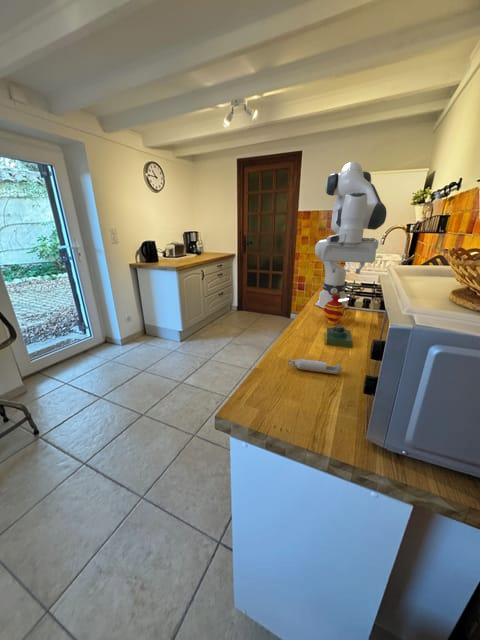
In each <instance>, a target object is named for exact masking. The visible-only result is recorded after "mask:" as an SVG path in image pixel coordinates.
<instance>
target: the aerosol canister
mask: <svg viewBox="0 0 480 640" xmlns="http://www.w3.org/2000/svg"><path fill="white" fill-rule="evenodd" d="M287 366H290V367H295V368H297V369H298V370H301V371H308V372H316V373H324V374H331V375H339V374H341V373H342V366H341V365H340V364H339V363H335V366H333V365H327V361H321V360H312V359H303V358H299V359H296V360H295V359H288V360H287Z"/></svg>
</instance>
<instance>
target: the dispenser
mask: <svg viewBox="0 0 480 640" xmlns="http://www.w3.org/2000/svg"><path fill="white" fill-rule="evenodd" d="M325 329H326V331H325V345H326V346H332V347H333V346H334V347H341V348H352V346H353V337H352V334H351V333H352V332H351V329H347V328H346V327H344V332H338V331H335V326H333V327H326V328H325Z"/></svg>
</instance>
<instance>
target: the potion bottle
mask: <svg viewBox="0 0 480 640" xmlns="http://www.w3.org/2000/svg"><path fill="white" fill-rule="evenodd" d="M340 295H341V294H339V293H332V297H331V298H333V301H330V302H328V303H327V304H326V305H325V306H324V308H323V310H322V311H323V314H324V316H325V318H326V319H327V321H326V322H327V323H328V324H331V325H338V323H339V320H341V319H342V318H343V317H344V314H345V308H344V306H343V303H341V302H340V301H338V300H339V299H340V298H341V297H340Z"/></svg>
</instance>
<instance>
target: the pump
mask: <svg viewBox="0 0 480 640" xmlns="http://www.w3.org/2000/svg"><path fill="white" fill-rule="evenodd" d="M334 327H335V331H338V332H344V328H345V326H344V325H342V324H335V325H334Z"/></svg>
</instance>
